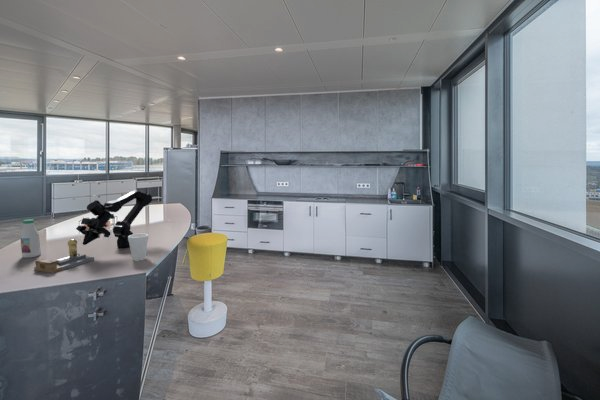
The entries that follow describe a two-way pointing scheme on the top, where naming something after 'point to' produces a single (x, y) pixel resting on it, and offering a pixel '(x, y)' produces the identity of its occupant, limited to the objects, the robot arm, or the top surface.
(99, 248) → the top surface
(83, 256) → the grey railed plate
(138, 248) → the foam cup
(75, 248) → the brass ball knob
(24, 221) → the milk bottle
